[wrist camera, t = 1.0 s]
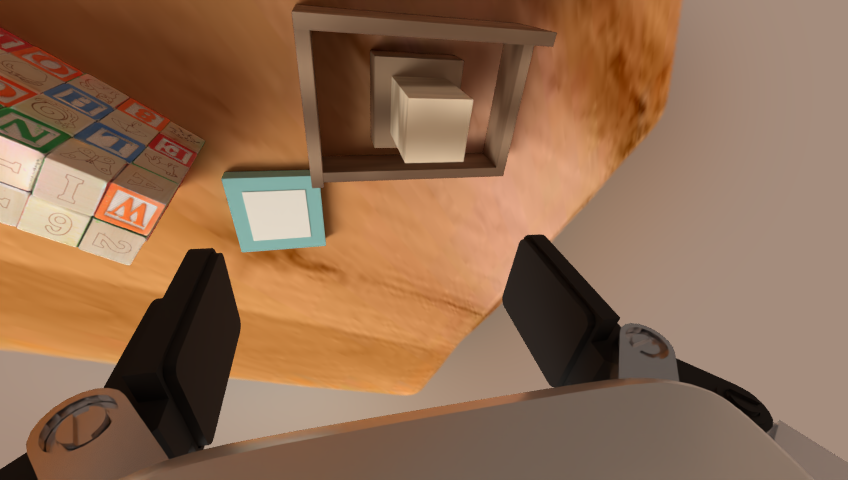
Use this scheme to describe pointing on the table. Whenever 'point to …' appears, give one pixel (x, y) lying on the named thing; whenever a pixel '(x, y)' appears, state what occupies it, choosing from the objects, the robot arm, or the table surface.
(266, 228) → the teal picture frame
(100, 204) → the stack of blocks
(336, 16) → the brown wooden tray
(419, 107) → the beech block
